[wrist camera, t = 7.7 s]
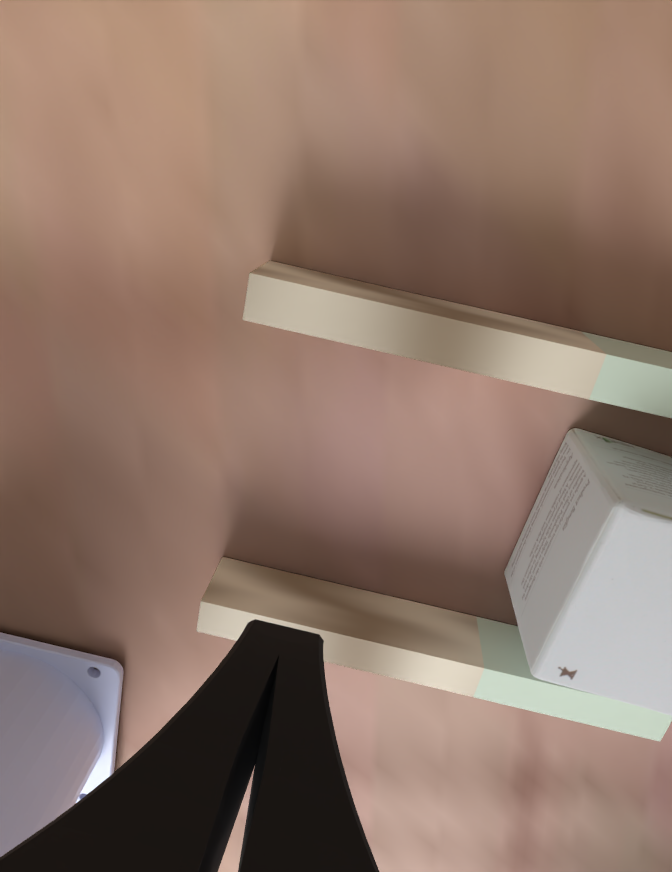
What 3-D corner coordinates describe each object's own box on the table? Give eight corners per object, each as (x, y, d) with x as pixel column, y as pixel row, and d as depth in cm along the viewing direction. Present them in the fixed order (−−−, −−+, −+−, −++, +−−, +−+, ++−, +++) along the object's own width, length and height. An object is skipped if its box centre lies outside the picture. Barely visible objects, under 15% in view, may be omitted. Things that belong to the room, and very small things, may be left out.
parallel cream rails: (217, 584, 22) (196, 631, 20) (269, 260, 18) (249, 272, 16) (633, 682, 22) (660, 741, 20) (790, 379, 18) (848, 409, 15)
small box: (661, 620, 21) (730, 739, 17) (497, 572, 21) (522, 680, 17) (748, 474, 19) (856, 566, 14) (566, 420, 19) (616, 497, 14)
